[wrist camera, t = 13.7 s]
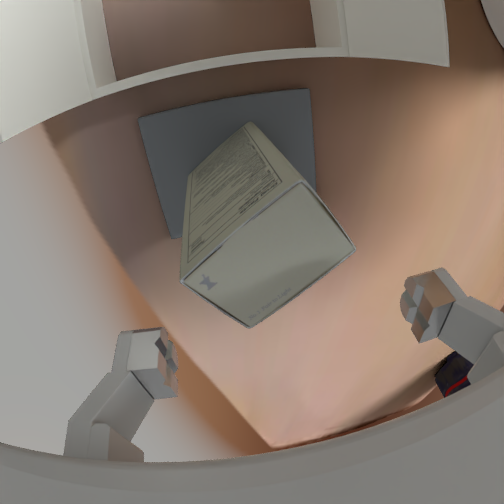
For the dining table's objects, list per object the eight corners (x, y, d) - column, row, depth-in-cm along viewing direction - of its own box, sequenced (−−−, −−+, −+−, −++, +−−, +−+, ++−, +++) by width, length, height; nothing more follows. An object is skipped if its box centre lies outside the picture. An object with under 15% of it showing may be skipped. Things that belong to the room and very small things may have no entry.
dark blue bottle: (463, 367, 54) (515, 470, 30) (424, 384, 53) (476, 499, 29) (489, 327, 46) (557, 441, 22) (450, 344, 45) (520, 478, 21)
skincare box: (226, 211, 24) (247, 335, 14) (184, 173, 22) (172, 285, 12) (289, 159, 22) (362, 253, 12) (250, 115, 20) (303, 177, 10)
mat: (306, 88, 20) (309, 88, 19) (314, 207, 26) (316, 211, 25) (139, 117, 19) (137, 119, 19) (172, 235, 25) (171, 239, 25)
